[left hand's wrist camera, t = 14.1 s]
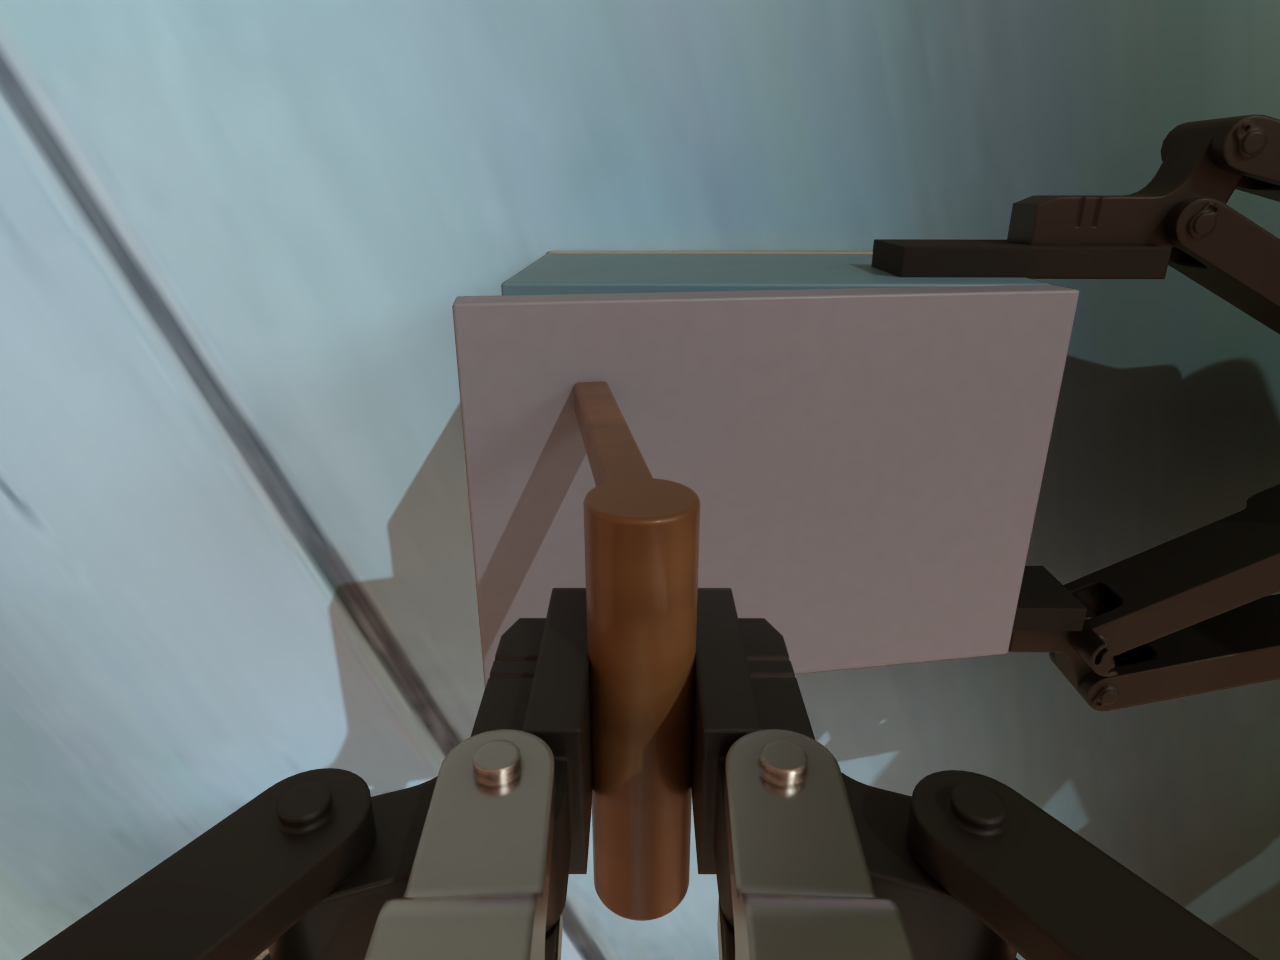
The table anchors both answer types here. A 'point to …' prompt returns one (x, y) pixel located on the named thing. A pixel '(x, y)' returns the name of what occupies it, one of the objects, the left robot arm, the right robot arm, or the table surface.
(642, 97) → the table surface
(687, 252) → the chest
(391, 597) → the table surface
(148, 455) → the table surface
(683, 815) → the lid
